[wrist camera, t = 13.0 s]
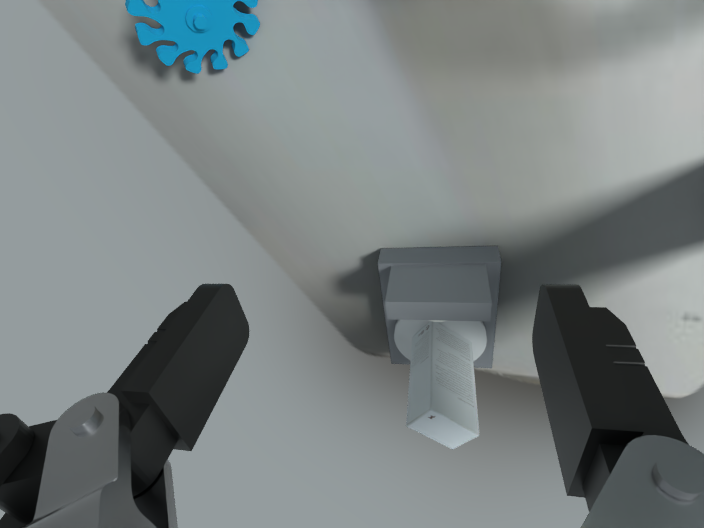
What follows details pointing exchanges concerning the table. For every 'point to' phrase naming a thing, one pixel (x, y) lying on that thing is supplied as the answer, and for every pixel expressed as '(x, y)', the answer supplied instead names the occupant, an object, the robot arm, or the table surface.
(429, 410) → the skincare box
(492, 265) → the dial scale
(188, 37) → the gear
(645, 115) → the table surface
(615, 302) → the table surface
